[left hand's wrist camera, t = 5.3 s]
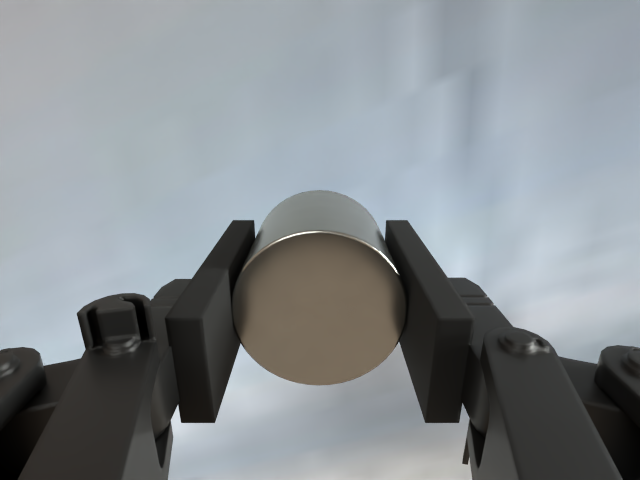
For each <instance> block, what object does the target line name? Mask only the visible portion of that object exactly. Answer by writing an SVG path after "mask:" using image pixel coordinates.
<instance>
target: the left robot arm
mask: <svg viewBox="0 0 640 480" xmlns="http://www.w3.org/2000/svg"><path fill="white" fill-rule="evenodd" d="M254 241H255V228H254V220H233V221H232V222H231V224H230V225H229V227H228V228H227V230H226V231H225V232H224V234H223V235H222V237H221V238H220V240H219V241H218V242H217V244H216V245H215V247H214V248H213V250H212V251H211V252H210V254H209V255H208V257H207V258H206V260H205V261H204V262H203V264H202V265H201V267H200V268H199V270H198V271H197V272H196V274H195V275H194V277H193V278H192V279H175V280H173V281H171V282H170V283H168V284H166V285H165V286H163V287H161V289H160V290H159V291H158V292H157V293H156V295H155V296H154V299H152V300H151V301H150V299H149V298H147V297H146V296H144V295H140V294H135V293H125V294H117V295H111V296H107V297H104V298H101V299H98V300H95V301H93V302H91V303H90V304H88V305H86V306H84V307H83V308H82V309H81V310H80V311H79V312H78V313H77V316H78V320H79V324H80V328H81V332H82V336H83V340H84V344H85V348H86V350H85V352H84V354H83V356H82V358H81V359H77V360H72V361H67V362H61V363H56V364H51V365H46V366H43V363H42V360H41V356H40V353H39V352H37V351H36V350H35V349H32V348H25V347H20V348H8V349H3V350H1V351H0V480H168V473H169V465H170V458H171V450H172V443H173V432H172V426H171V418H172V416H173V414H174V412H175V409H176V407H177V405H179V412H180V418H181V423H215V421H216V418H217V415H218V411H219V408H220V405H221V402H222V399H223V396H224V393H225V390H226V387H227V384H228V380H229V377H230V374H231V371H232V368H233V365H234V362H235V359H236V356H237V352H238V349H239V346H240V341H239V338H238V336H237V334H236V332H235V329H234V325H233V320H232V309H231V299H232V292H233V289H234V285H235V282H236V280H237V278H238V276H239V273H240V271H241V269H242V267H243V265H244V262H245V260H246V258H247V256H248V254H249V252H250V249H251V247H252V245H253V243H254ZM385 243H386V245H387V247H388V250H389V252H390V254H391V256H392V258H393V261H394V263H395V265H396V267H397V270H398V272H399V274H400V276H401V279H402V281H403V283H404V287H405V290H406V294H407V302H408V314H407V320H406V325H405V328H404V331H403V334H402V336H401V338H400V340H399V342H400V345H401V348H402V352H403V355H404V358H405V361H406V364H407V367H408V370H409V373H410V376H411V379H412V383H413V386H414V389H415V392H416V395H417V398H418V401H419V404H420V407H421V411H422V414H423V417H424V420H425V423H459V420H460V413H461V407H462V402H463V405H464V407H465V409H466V411H467V413H468V415H469V418H470V420H469V426H468V432H467V438H466V443H465V449H464V455H463V462H462V464H467V465H468V460H469V457H470V464H471V472H472V479H473V480H640V348H637V347H632V346H631V347H629V346H619V345H617V346H610V347H606V348H605V349H604V350H602V351H601V354H600V358H599V361H598V364H594V363H588V362H583V361H578V360H572V359H567V358H563V357H559V356H558V355H557V353H556V351H555V349H554V348H553V347H552V346H551V345H550V343H549V342H548V341H546V340H545V339H543V338H542V337H540V336H539V335H537V334H534V333H532V332H529V331H527V330H524V329H520V328H515V327H513V326H512V325H511V324H510V323H509V321H508V320H507V319H506V318H505V317H504V315H503V314H502V313H501V312H500V311H499V309H498V308H497V307H496V306H494V303H493V302H492V301H491V300H490V299H489V297H487V295H486V294H485V293H484V291H483V290H482V289H481V288H480V287H479V286H478V285H476V284H475V283H473V282H471V281H470V280H468V279H466V278H447V276H446V275H445V273H444V272H443V270H442V269H441V268H440V266H439V265H438V263H437V262H436V260H435V259H434V258H433V256H432V255H431V253H430V252H429V251H428V249H427V248H426V246H425V245H424V243H423V242H422V241H421V239H420V238H419V236H418V235H417V233H416V232H415V231H414V229H413V228H412V226H411V225H410V223H409V222H408V221H407V220H386V233H385Z"/></svg>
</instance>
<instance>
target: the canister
mask: <svg viewBox="0 0 640 480" xmlns="http://www.w3.org/2000/svg"><path fill="white" fill-rule="evenodd" d="M231 309H232V320H233V325H234V329H235V332H236V334H237V336H238V338H239V341H240V343H241V344H242V346H243V347H244V349H245V350H246V351H247V353H248V354H249V355H250V356H251V357H252V358H253V359H254V360H255V361H256V362H257V363H258V364H259V365H260V366H262V367H263V368H265V369H266V370H268V371H269V372H271V373H273V374H275V375H277V376H279V377H281V378H284V379H286V380H289V381H293V382H296V383H301V384H307V385H331V384H338V383H343V382H346V381H350V380H353V379H355V378H358V377H360V376H362V375H364V374H366V373H368V372H370V371H371V370H373V369H374V368H375V367H377V366H378V365H379V364H381V363H382V362H383V361H384V360H385V359H386V358H387V357H388V356H389V355H390V354H391V352H392V351H393V350H394V348H395V347H396V345H397V344H398V342H399V340H400V338H401V336H402V334H403V331H404V328H405V325H406V320H407V314H408V302H407V294H406V290H405V287H404V283H403V281H402V279H401V276H400V274H399V272H398V270H397V267H396V265H395V263H394V261H393V258H392V256H391V254H390V252H389V250H388V247H387V245H386V243H385V241H384V238H383V236H382V234H381V232H380V229H379V227H378V225H377V223H376V221H375V220H374V218H373V217H372V215H371V214H370V213H369V212H368V211H367V209H365V208H364V207H363V206H362V205H361V204H360V203H358V202H357V201H355V200H354V199H352V198H350V197H348V196H346V195H343V194H340V193H337V192H332V191H323V190H316V191H307V192H302V193H299V194H296V195H294V196H291V197H289V198H287V199H286V200H284V201H282V202H281V203H279V204H278V205H277V206H276V207H275V208H274V209H273V210H272V211H271V212H270V213H269V214H268V215H267V217H266V218H265V220H264V221H263V223H262V225H261V228H260V230H259V232H258V234H257V236H256V238H255V241H254V243H253V245H252V247H251V249H250V252H249V254H248V256H247V258H246V260H245V262H244V265H243V267H242V269H241V271H240V273H239V276H238V278H237V280H236V282H235V285H234V289H233V292H232V299H231Z"/></svg>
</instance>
